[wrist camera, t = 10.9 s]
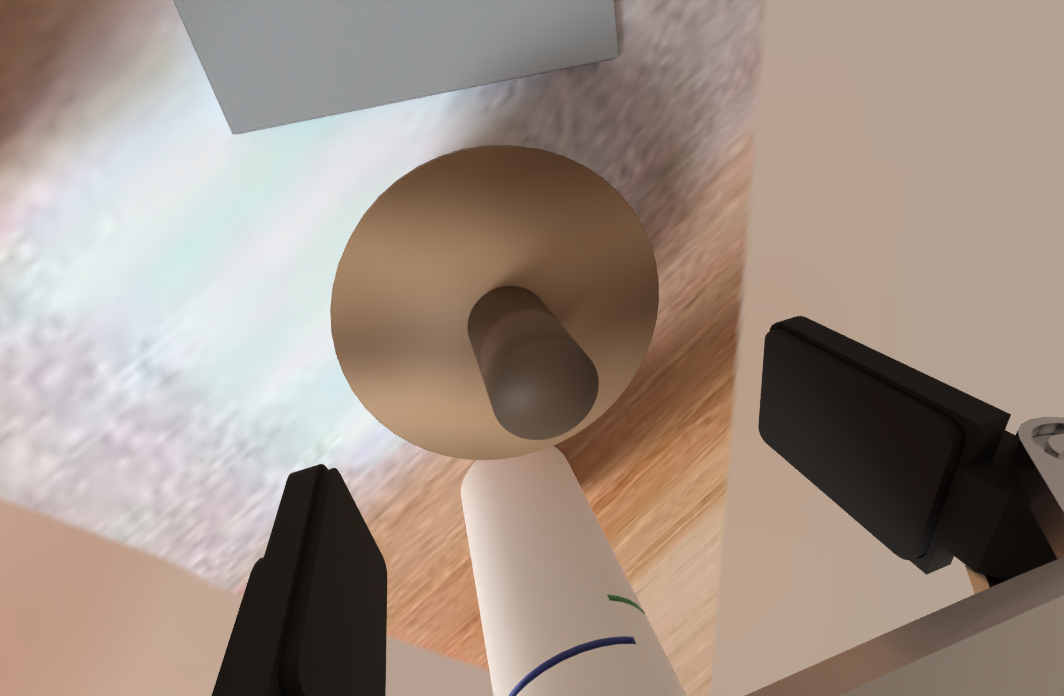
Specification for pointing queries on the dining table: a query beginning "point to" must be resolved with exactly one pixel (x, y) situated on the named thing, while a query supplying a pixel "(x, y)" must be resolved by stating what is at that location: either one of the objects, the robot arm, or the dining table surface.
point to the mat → (380, 50)
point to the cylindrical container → (554, 587)
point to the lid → (494, 302)
